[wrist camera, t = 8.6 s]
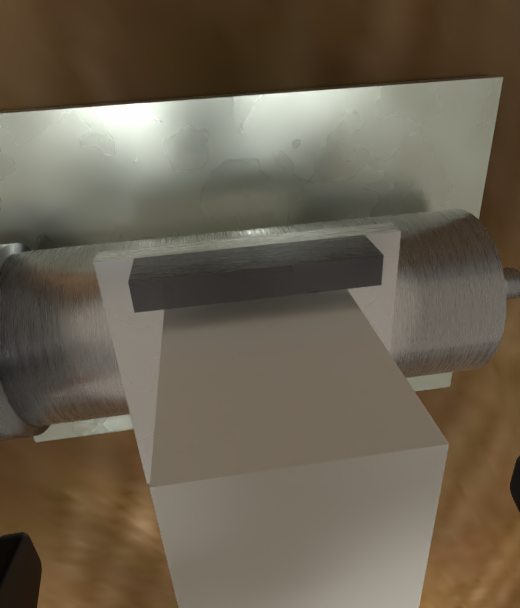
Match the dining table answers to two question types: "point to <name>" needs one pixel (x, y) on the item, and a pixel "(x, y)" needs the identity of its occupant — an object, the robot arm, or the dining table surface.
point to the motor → (238, 234)
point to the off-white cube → (291, 458)
